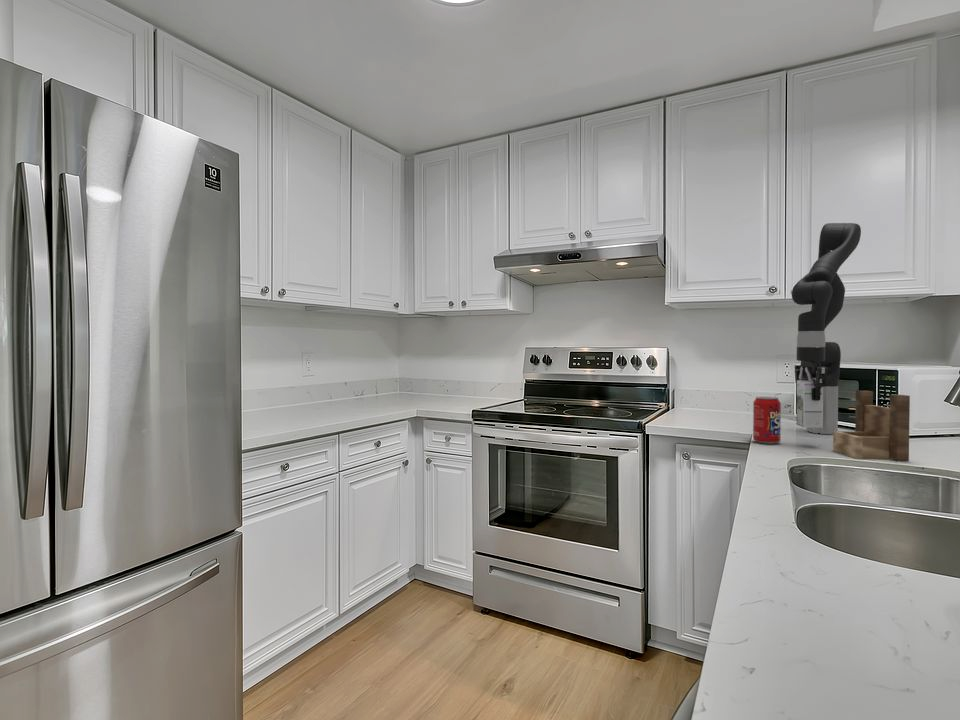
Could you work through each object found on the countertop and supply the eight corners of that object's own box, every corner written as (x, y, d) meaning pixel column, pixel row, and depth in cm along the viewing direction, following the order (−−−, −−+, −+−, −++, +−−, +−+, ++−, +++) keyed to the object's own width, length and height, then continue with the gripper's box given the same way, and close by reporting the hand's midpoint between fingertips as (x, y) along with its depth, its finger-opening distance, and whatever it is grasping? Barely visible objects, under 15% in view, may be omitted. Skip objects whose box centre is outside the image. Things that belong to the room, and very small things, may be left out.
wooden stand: (826, 449, 157) (826, 390, 156) (865, 449, 156) (866, 390, 156) (865, 461, 140) (865, 395, 139) (908, 461, 139) (909, 395, 139)
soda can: (749, 440, 172) (750, 395, 172) (775, 440, 171) (775, 396, 171) (757, 444, 165) (757, 398, 164) (784, 445, 163) (784, 398, 163)
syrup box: (823, 428, 157) (824, 381, 157) (802, 427, 159) (803, 381, 158) (815, 425, 163) (816, 379, 162) (795, 424, 164) (796, 379, 164)
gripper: (786, 345, 167) (785, 396, 168) (811, 346, 153) (810, 401, 154) (810, 345, 167) (809, 396, 167) (837, 346, 152) (836, 402, 153)
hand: (809, 398), depth 160 cm, fingers closed on syrup box, 6 cm apart
